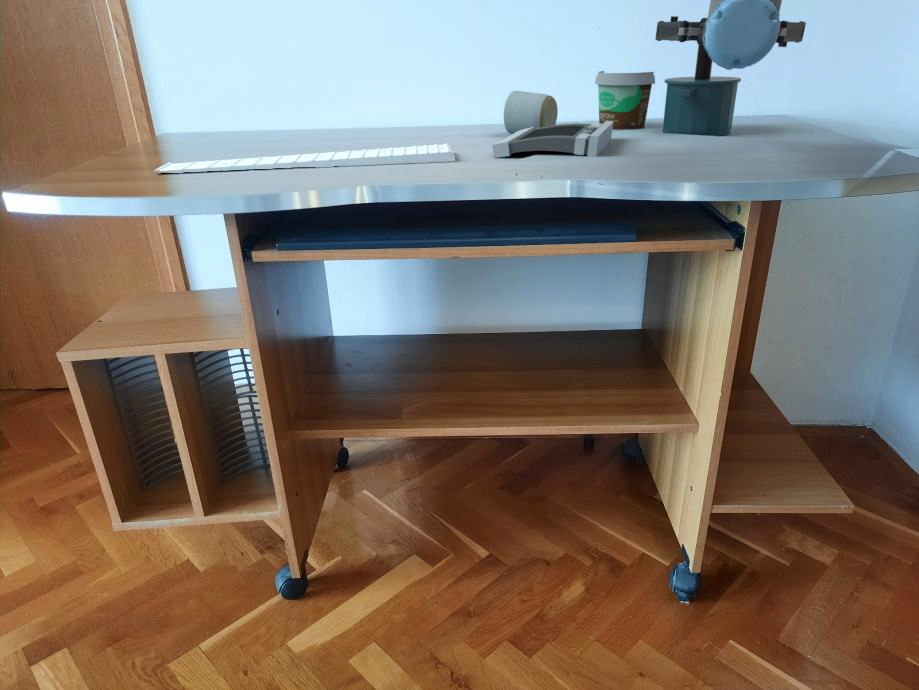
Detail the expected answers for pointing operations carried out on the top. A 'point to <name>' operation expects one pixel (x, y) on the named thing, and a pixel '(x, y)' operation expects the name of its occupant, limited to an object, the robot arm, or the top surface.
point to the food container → (624, 98)
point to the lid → (702, 73)
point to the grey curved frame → (557, 139)
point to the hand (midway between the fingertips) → (725, 31)
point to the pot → (699, 109)
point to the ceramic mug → (529, 111)
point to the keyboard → (326, 159)
